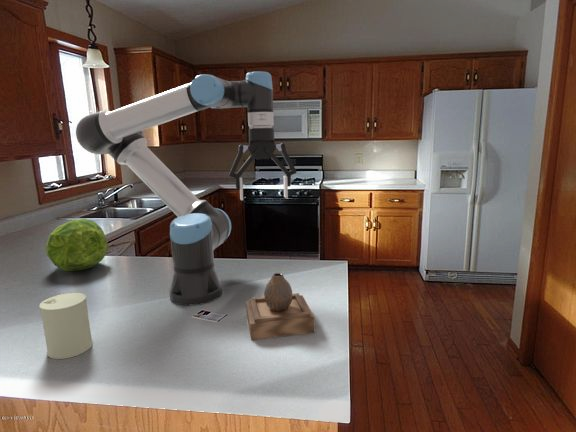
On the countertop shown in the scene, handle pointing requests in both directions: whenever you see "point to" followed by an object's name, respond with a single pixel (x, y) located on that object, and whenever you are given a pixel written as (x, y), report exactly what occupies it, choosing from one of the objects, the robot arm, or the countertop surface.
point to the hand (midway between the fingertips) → (264, 198)
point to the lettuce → (77, 245)
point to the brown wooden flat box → (279, 318)
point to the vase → (278, 293)
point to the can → (66, 325)
